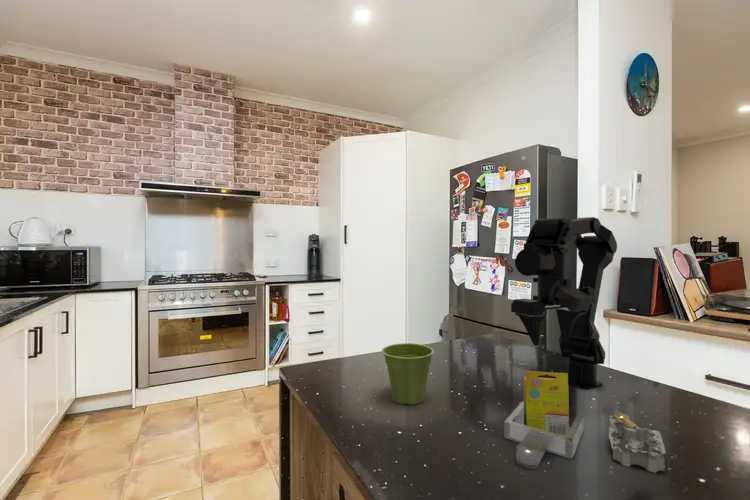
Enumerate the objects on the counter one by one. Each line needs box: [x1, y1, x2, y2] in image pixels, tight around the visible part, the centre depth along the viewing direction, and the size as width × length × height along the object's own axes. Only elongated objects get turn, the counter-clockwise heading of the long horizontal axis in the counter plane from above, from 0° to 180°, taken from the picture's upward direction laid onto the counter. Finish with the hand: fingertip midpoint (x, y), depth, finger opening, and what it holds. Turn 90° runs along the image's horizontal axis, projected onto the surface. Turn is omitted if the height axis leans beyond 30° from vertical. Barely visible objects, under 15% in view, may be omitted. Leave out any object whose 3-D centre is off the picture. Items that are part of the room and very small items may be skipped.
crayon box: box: [523, 370, 570, 437], centre depth 68 cm, size 7×3×12 cm, turn 78°
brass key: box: [614, 412, 640, 429], centre depth 72 cm, size 7×2×1 cm, turn 174°
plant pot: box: [381, 342, 435, 406], centre depth 84 cm, size 12×12×11 cm
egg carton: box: [608, 415, 667, 474], centre depth 62 cm, size 11×8×4 cm
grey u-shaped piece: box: [503, 400, 584, 470], centre depth 65 cm, size 18×11×3 cm, turn 142°
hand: (550, 343), depth 83 cm, fingers open, 9 cm apart
